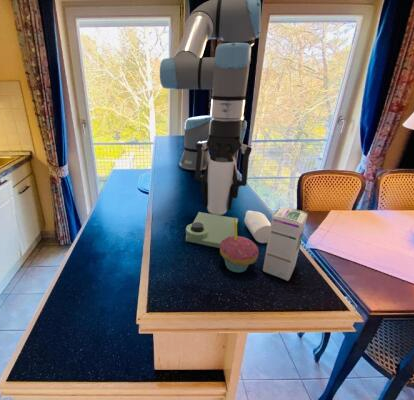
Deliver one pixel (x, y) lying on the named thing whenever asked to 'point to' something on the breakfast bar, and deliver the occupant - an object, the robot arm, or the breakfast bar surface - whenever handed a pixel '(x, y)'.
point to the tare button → (197, 227)
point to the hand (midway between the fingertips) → (217, 205)
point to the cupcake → (238, 251)
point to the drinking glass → (219, 184)
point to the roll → (258, 225)
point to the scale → (211, 229)
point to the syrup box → (284, 242)
